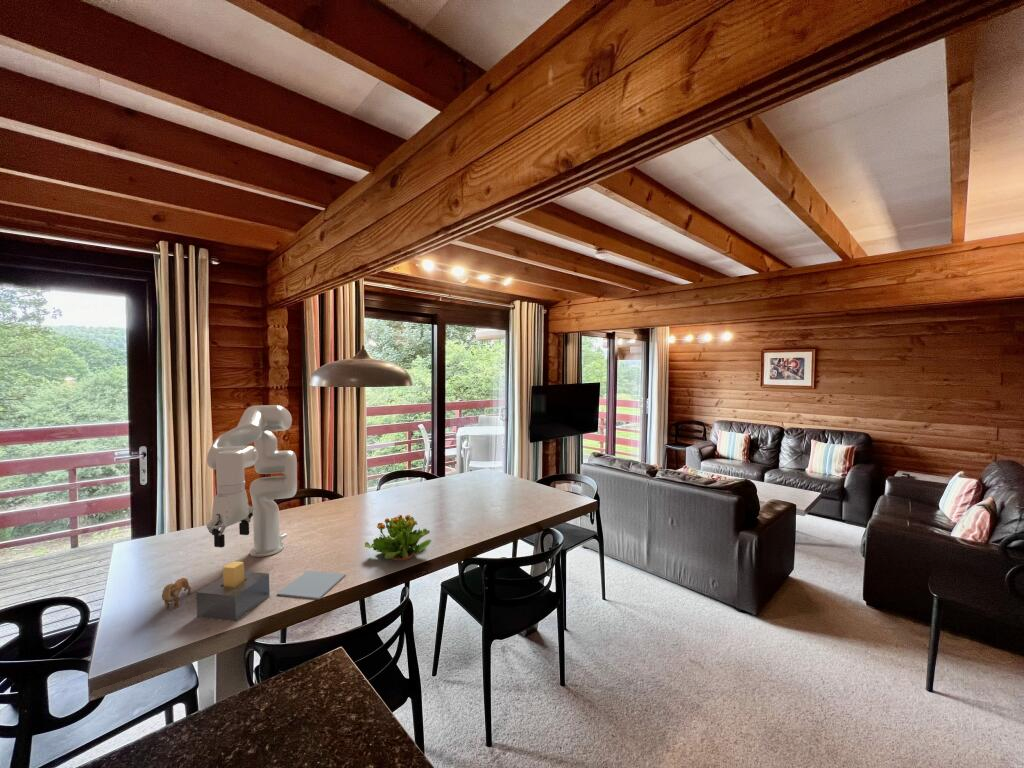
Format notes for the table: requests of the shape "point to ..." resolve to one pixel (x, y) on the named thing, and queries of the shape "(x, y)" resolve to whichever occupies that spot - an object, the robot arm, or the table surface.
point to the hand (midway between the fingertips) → (232, 540)
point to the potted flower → (399, 539)
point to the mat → (311, 585)
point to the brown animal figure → (175, 592)
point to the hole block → (232, 597)
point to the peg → (233, 574)
